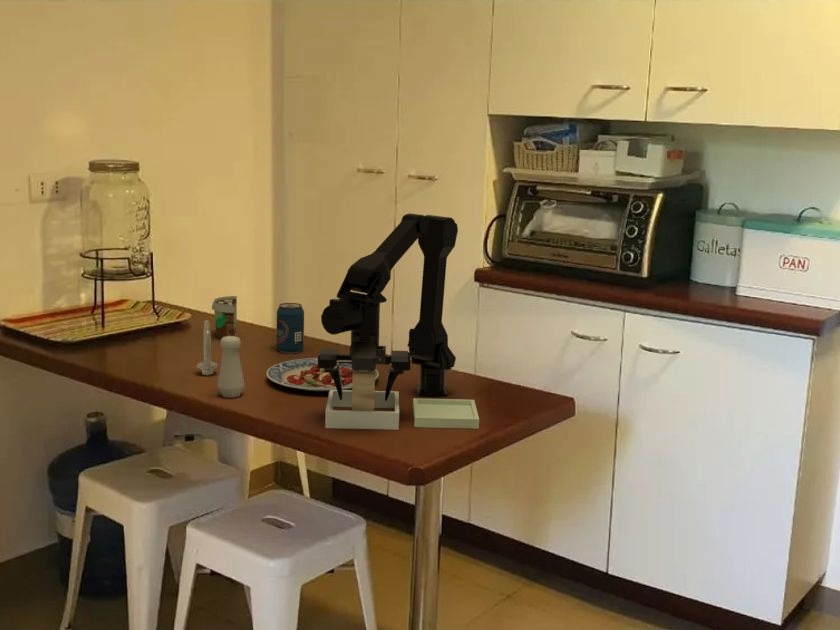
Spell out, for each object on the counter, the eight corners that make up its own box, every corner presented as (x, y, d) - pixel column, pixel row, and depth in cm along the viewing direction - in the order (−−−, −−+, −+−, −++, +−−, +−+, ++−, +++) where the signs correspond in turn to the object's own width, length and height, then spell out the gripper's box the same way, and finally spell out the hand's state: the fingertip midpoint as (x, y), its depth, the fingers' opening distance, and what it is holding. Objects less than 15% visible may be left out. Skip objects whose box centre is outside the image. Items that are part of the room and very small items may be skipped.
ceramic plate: (310, 361, 250) (310, 349, 249) (399, 378, 237) (399, 366, 236) (242, 384, 228) (242, 372, 227) (336, 405, 215) (337, 392, 215)
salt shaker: (246, 391, 222) (246, 334, 219) (242, 399, 216) (242, 340, 213) (219, 390, 222) (219, 333, 219) (215, 398, 216) (214, 340, 213)
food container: (214, 331, 275) (213, 295, 273) (236, 331, 276) (236, 295, 273) (209, 342, 263) (209, 304, 261) (233, 342, 264) (233, 305, 262)
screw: (216, 370, 237) (219, 376, 233) (195, 371, 236) (197, 377, 231) (216, 316, 234) (218, 321, 230) (195, 317, 233) (197, 322, 228)
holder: (329, 405, 214) (329, 389, 213) (398, 407, 215) (398, 391, 214) (325, 428, 200) (325, 411, 199) (398, 429, 200) (399, 413, 200)
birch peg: (352, 413, 209) (353, 367, 207) (374, 414, 210) (375, 368, 207) (351, 420, 205) (352, 373, 203) (373, 421, 205) (374, 374, 203)
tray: (413, 407, 215) (413, 398, 215) (473, 408, 215) (474, 399, 215) (414, 427, 202) (414, 417, 202) (478, 428, 203) (479, 419, 202)
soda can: (271, 349, 257) (271, 304, 255) (293, 346, 262) (293, 301, 259) (286, 355, 253) (287, 309, 250) (309, 351, 257) (309, 305, 254)
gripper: (316, 334, 195) (315, 411, 198) (412, 336, 196) (409, 413, 199) (320, 321, 206) (319, 394, 209) (411, 323, 206) (408, 396, 210)
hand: (363, 399), depth 207 cm, fingers open, 9 cm apart
